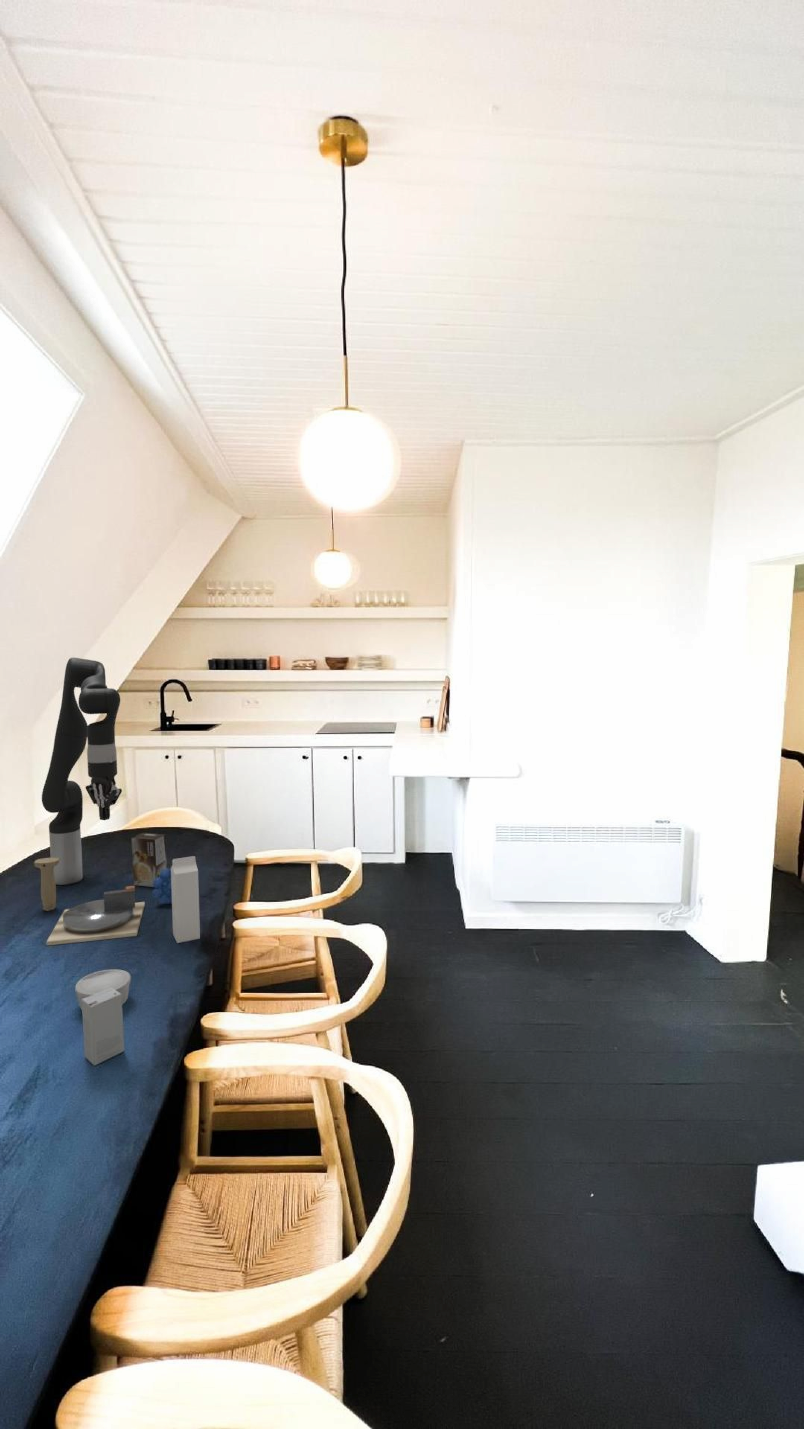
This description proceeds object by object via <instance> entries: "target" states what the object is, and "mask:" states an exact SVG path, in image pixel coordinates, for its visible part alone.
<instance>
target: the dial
mask: <svg viewBox="0 0 804 1429" xmlns="http://www.w3.org/2000/svg"><path fill="white" fill-rule="evenodd" d="M135 891H136V885H128V886H127V885H126V886H125V889H118V890H117V889H116V890H110V891H104V892H103V898H102V899H96V900H92V901H86V902H83V903H80V904H78V905H74V906H73V907H71V908H68V909H69V910H68V911H66V912H65V913H64V915H63V926H64V928H65V929H66V930H67V931H70V932H74V933H96V932H102V931H107V930H111V929H114V928H117V927H119V926H122V925H124V924H126V923H127V922H129V921H130V920H131V919H132V918H133V915H134V913H133V908H135V903H136V895H135V893H136V892H135Z"/></svg>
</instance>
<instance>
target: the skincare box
mask: <svg viewBox="0 0 804 1429" xmlns="http://www.w3.org/2000/svg"><path fill="white" fill-rule="evenodd" d="M81 1012H82V1029H83V1046H84V1047H83V1048H84V1058H86V1059H87V1060H88V1062H90V1063H91V1064H92V1065H93V1066H96V1065H99V1064H101V1063H103V1062H105V1061H106V1060H110V1059H111V1058H112V1057H115V1056H117V1055H119V1054H121V1053H123V1052H124V1051H125V1040H124V1039H125V1036H124V1035H125V1034H124V1020H123V1019H124V1016H123V1014H124V1013H123V1005H122V995H121V994H120V993H119V992H118V991H116V990H115V989H113V988H109V989H106V990H104V991H101V992H99V993H96V994H94V995H92V996H89V997H87V998H84V999H82V1009H81Z"/></svg>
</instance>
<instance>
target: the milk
mask: <svg viewBox="0 0 804 1429" xmlns="http://www.w3.org/2000/svg"><path fill="white" fill-rule="evenodd" d="M196 861H197V860H196V856H194V855H192V856H186V857H179V858H173V859H172V865H171V866H170V870H171V889H172V904H171V911H172V912H171V913H172V916H171V917H172V936H173V937H174V939H175V941H176V944H179V943H183V942H190V941H195V940H199V939H200V938H201V929H200V928H201V926H200V892H199V890H200V889H199V869H198V865H197V862H196Z"/></svg>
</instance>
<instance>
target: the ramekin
mask: <svg viewBox="0 0 804 1429" xmlns="http://www.w3.org/2000/svg"><path fill="white" fill-rule="evenodd" d="M131 980H132V976H131V974H130V972H128V971H126V970H124V969H123V970H122V969H117V968H116V969H112V968H111V969H103V970H98V971H95V972H92V973H89V974H88V975H85V976H83V977H82V978H81V979H79V980H78V981H77V982H76V984H75V987H74V989H75V990H74V991H75V994H76V996H77V1001H78V1005H79V1009H81V1010H82V999H84V998H87V997H89V996H92V995H94V994H96V993H99V992H101V991H104V990H106V989H109V988H113V989H115V990H116V991H118V992H119V993H120V994H121V995H122V1006H123V1005H124V1004H125V1003H126V1002H127V1000H128V997H129V991H130V984H131Z"/></svg>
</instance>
